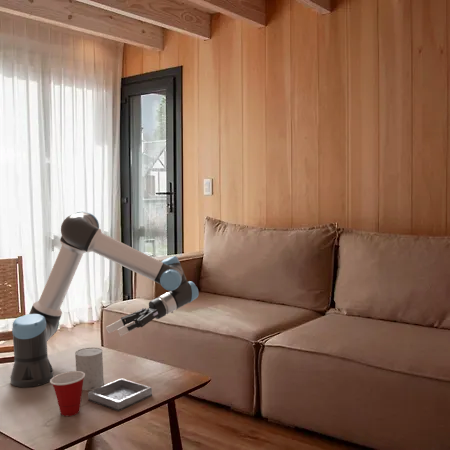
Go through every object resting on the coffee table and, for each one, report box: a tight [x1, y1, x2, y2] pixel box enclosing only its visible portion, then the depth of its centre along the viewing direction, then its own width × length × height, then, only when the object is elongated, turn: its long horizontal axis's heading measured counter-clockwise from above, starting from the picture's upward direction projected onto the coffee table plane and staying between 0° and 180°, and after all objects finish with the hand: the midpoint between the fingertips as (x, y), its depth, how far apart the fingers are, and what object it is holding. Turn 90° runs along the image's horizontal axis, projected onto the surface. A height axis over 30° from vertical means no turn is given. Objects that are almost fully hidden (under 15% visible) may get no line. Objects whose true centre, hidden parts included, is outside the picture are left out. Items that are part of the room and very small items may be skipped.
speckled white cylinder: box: [74, 347, 105, 391], centre depth 204 cm, size 10×10×12 cm
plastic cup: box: [49, 370, 85, 417], centre depth 181 cm, size 11×11×12 cm
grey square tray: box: [87, 377, 153, 412], centre depth 192 cm, size 15×15×3 cm
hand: (112, 331), depth 208 cm, fingers open, 13 cm apart
